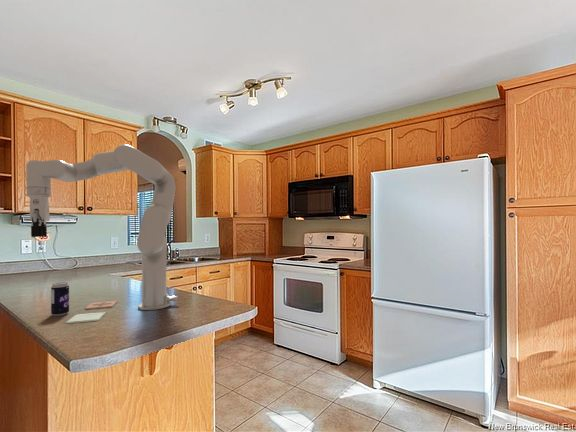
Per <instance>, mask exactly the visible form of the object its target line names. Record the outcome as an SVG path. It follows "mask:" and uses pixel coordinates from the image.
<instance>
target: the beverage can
mask: <svg viewBox="0 0 576 432" xmlns="http://www.w3.org/2000/svg"><path fill="white" fill-rule="evenodd" d="M50 301H51V302H50V314H51V315H53V316H54V317H59V316H65V315H67V314H68V313H69V312H70V285H69V282H65V281H64V282H63V281H62V282H56V283H55V282H54V283H52V286H51V287H50Z"/></svg>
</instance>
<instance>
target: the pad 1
mask: <svg viewBox="0 0 576 432" xmlns="http://www.w3.org/2000/svg"><path fill="white" fill-rule="evenodd" d="M106 314H107V313H106V311H104V312H91V313H89V312H88V313H78V314H77V313H76V314H75V315H73V317H70V319H69V320H67V321H66V323H65V324H78V323H87V322H88V323H89V322H90V323H91V322H98V321H100V320H101V319H102V318H103V317H104V316H105V315H106Z"/></svg>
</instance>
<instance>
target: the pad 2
mask: <svg viewBox="0 0 576 432" xmlns="http://www.w3.org/2000/svg"><path fill="white" fill-rule="evenodd" d="M118 301H119V300H110V301H96V302H91V303H90V304H88V305H87V306H86V307H85V308H84V310H96V309H98V310H99V309H110V308H111V309H112V308H113V307H114V306H115V305H116V304H117V303H118Z"/></svg>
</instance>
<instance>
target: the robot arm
mask: <svg viewBox="0 0 576 432" xmlns="http://www.w3.org/2000/svg"><path fill="white" fill-rule="evenodd" d="M25 165H26V169H25V171H26V172H25V173H26V175H25V177H26V179H25V180H26V197H29V220H30V221H31V223H30V224H31V226H30V235H31V238H41V237H47V236H48V234H47V233H48V229H47V227H48V226H47V222H50V219H51V217H50V200H49V198H51V196H52V188H51V187H52V185H51V182H52V181H51V180H52V179H54V180H57V181H62V182H64V183H73V182H78V181H85V180H89V179H94V178H96V177H100V176H102V175H107V174H112V173H118V172H119V173H120V172H125V171H131V172H132V173H134V174H136V175H139V176H140V177H141V178H143V179H144V180H146V181H148V182H149V183H151V184H153V186H154V191H153V194H152V199H151V203H150V205H149V206H148V207H146V209H145V210H144V212H143V214H142V217H141V223H140V227H139V231H138V236H137V242H136V244H137V249H138V250H139V252H140V253H142V255H141V303H139V304H138V305H137V309H138V310H142V311H155V310H160V309H161V310H162V309H165V308H168V307H170V306H171V302H178V299H179V298H178V297H179V296H178V295H176V296H175V295H172V296H171V295H169V293H168V292H167V252H168V241H167V237H166V236H165V235H166V232H167V226H168V225H169V223H170V222H171V219H172V211H173V206H174V201H175V195H176V189H177V188H176V182H175V181H176V180H175V179H174V176H173V175H172V174H171V173H170V172H169V171H168V169H166V168H165V167H164V166H163V165H162V164H161V163H160V162H159V161H158V160H157V159H155V158H153V157H151V156H149V155H148V154H145V153H144V152H142V151H141V150H139V149H137V148H136V147H134V146H132V145H129V144H120V145H117V147H115V149H114V150H113V151H111V150H110V151H105V152H97V153H95V154H93V156H92V158H90V159H88V160H85V161H81V162H76V163H68V162H66V161H64V160H62V159H61V160H60V159H50V160H28V161H27V162H26V164H25Z"/></svg>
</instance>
